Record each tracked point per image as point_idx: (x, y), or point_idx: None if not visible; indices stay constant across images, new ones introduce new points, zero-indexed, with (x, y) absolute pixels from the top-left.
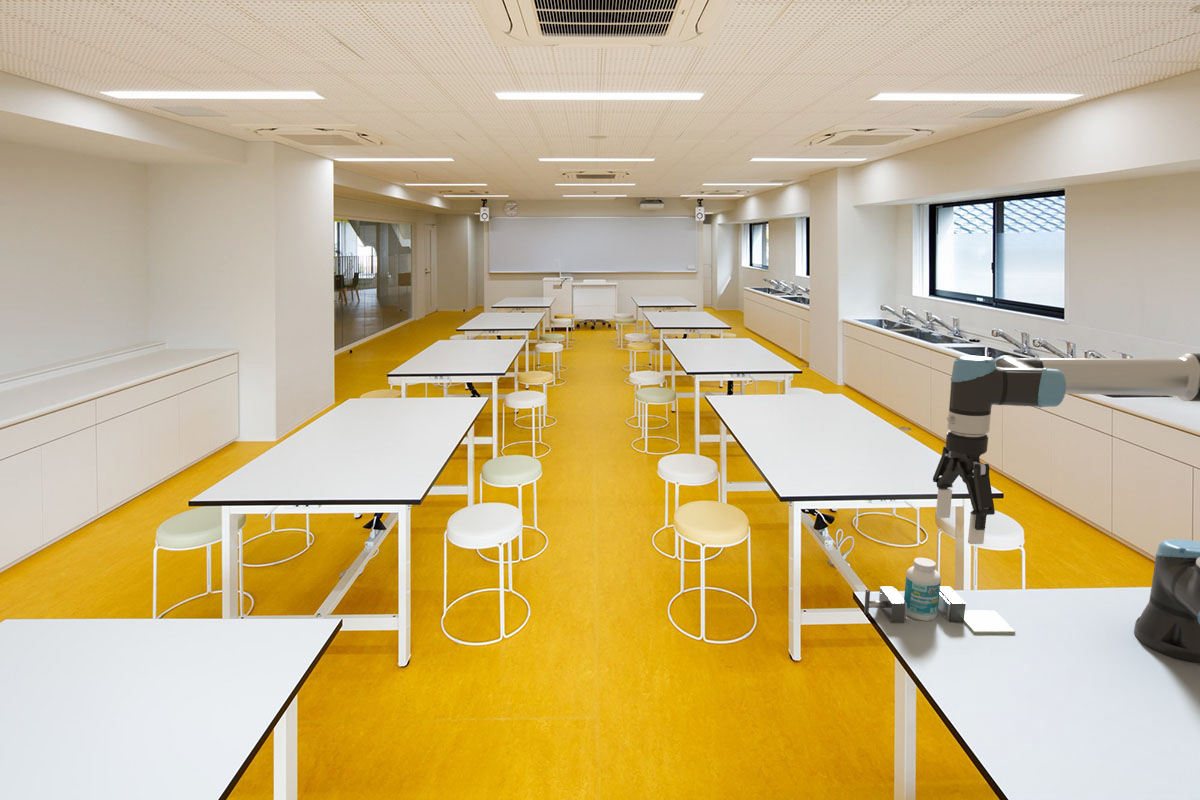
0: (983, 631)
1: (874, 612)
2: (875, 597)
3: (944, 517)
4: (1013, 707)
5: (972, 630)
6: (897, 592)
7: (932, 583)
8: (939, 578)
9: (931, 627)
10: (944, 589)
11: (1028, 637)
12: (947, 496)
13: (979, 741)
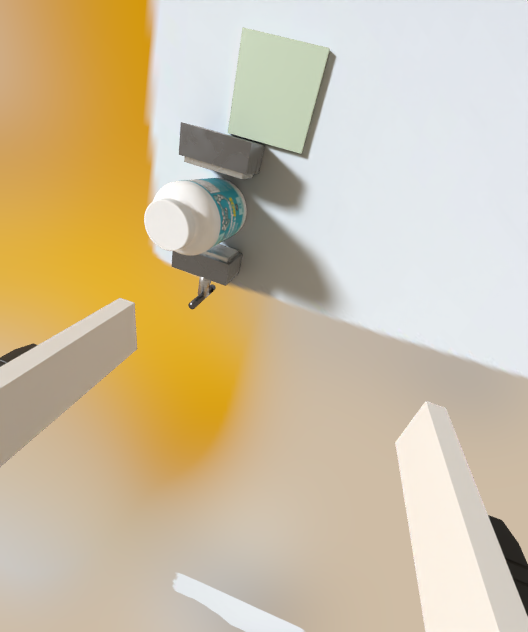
0: (306, 133)
1: None
2: None
3: (134, 325)
4: (500, 262)
5: (294, 151)
6: None
7: (218, 225)
8: (206, 201)
9: (263, 219)
10: (191, 146)
11: (352, 23)
12: (31, 393)
13: (517, 360)
